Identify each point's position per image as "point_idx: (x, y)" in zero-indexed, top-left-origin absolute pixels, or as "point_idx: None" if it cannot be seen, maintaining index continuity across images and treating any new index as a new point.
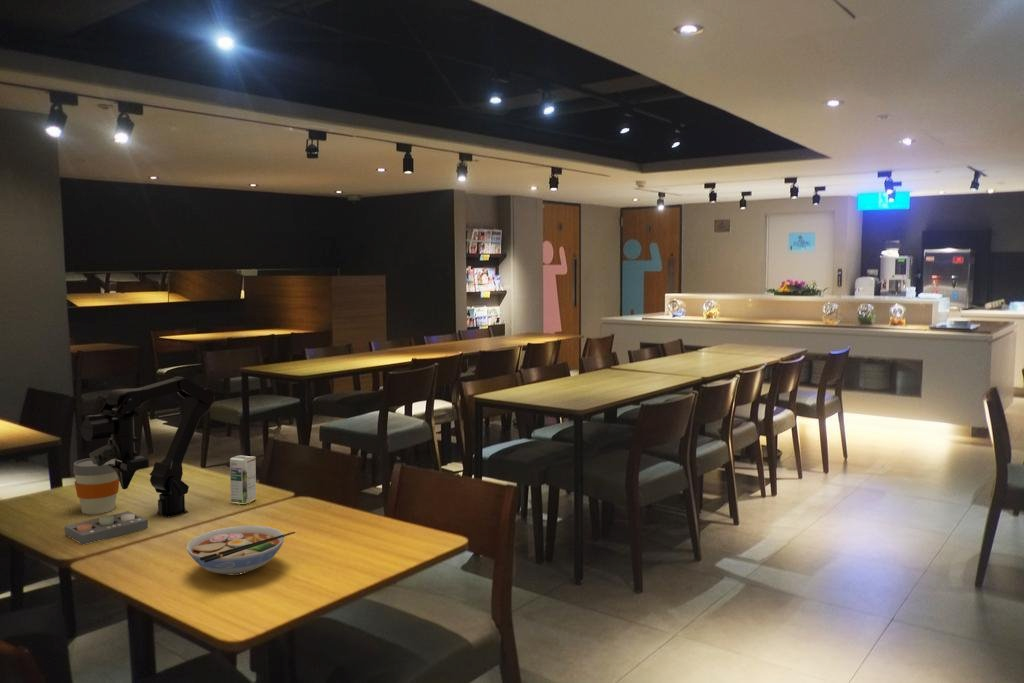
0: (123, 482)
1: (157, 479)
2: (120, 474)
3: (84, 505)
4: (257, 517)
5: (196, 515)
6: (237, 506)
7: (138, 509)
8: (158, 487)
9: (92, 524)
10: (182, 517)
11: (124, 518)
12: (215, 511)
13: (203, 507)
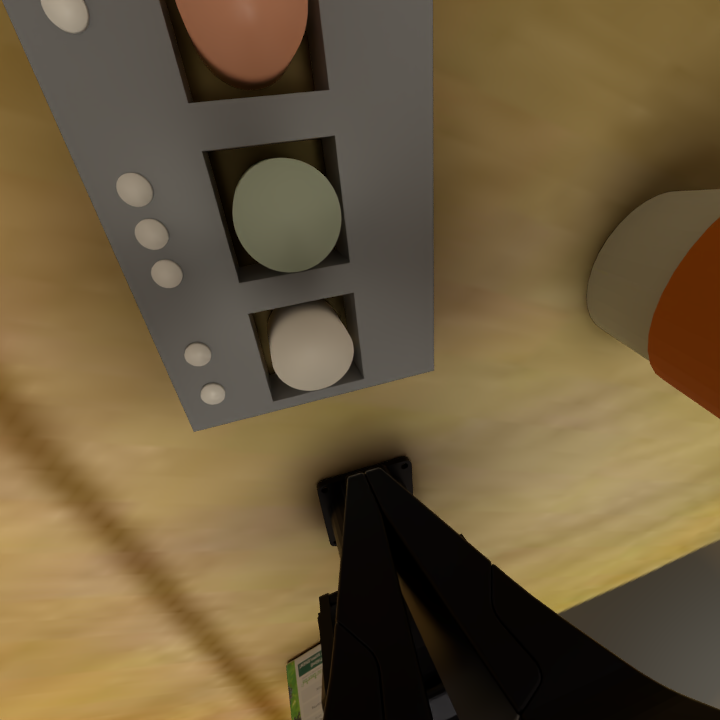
0: (340, 564)
1: (423, 661)
2: (396, 717)
3: (700, 198)
4: (117, 702)
5: (277, 561)
6: (294, 647)
7: (513, 402)
8: (403, 596)
9: (310, 107)
10: (285, 524)
11: (280, 330)
12: (283, 604)
13: None
